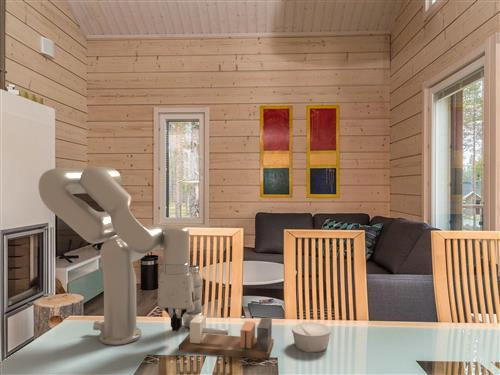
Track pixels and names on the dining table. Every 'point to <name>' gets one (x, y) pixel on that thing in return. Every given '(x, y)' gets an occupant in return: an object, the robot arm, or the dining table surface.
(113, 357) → the dining table surface
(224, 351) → the base
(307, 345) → the ramekin
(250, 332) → the block
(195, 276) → the plastic bottle
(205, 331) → the plunger
